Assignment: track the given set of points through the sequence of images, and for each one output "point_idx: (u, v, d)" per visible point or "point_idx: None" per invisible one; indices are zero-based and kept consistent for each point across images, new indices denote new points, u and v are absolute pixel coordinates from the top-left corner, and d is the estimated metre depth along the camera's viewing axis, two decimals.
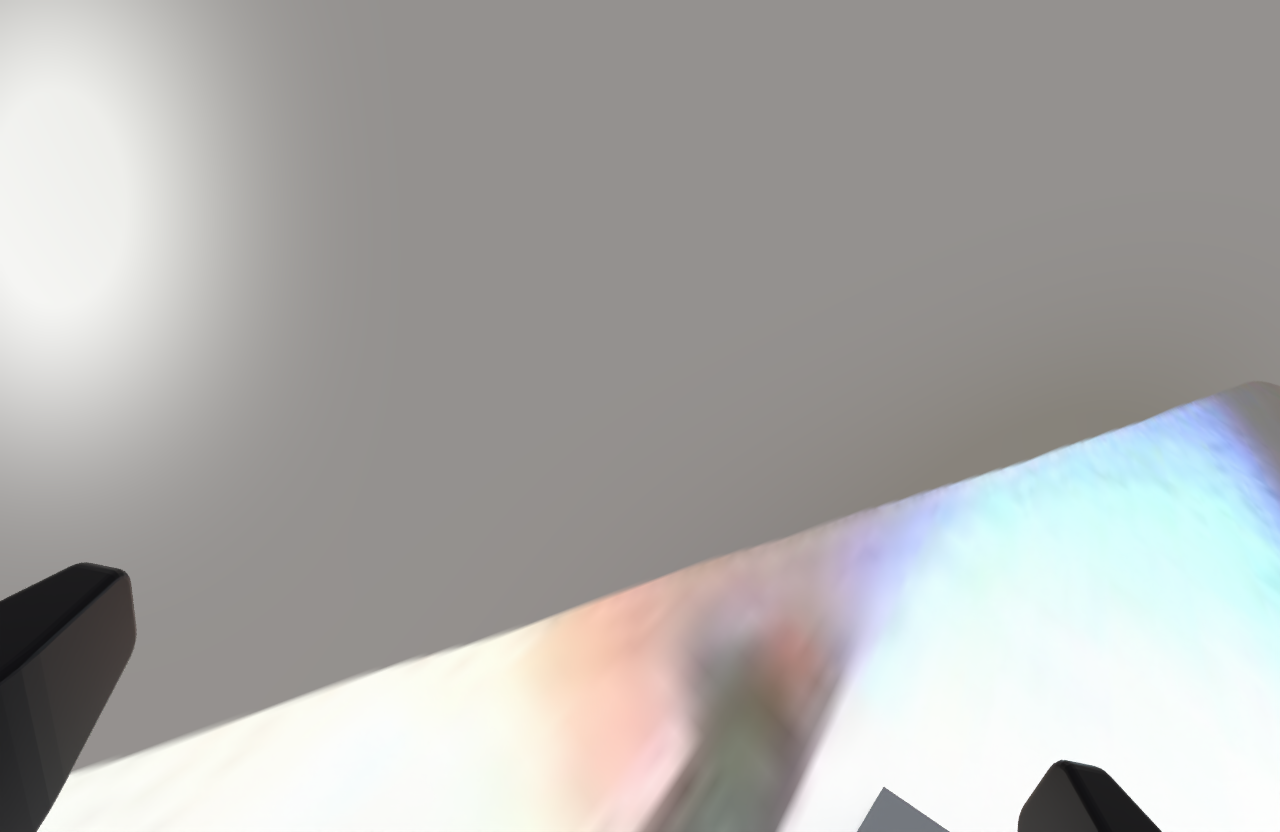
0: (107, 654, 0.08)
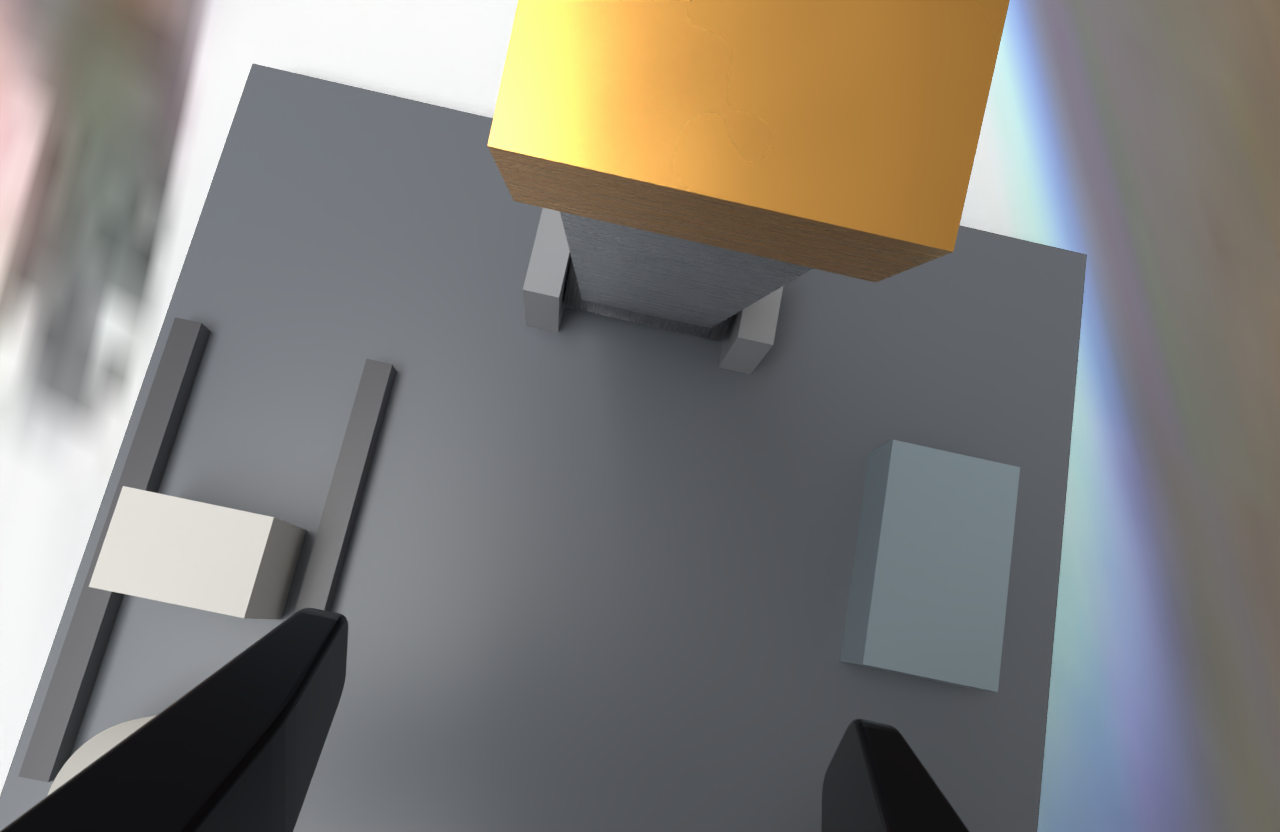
0: (329, 698, 0.08)
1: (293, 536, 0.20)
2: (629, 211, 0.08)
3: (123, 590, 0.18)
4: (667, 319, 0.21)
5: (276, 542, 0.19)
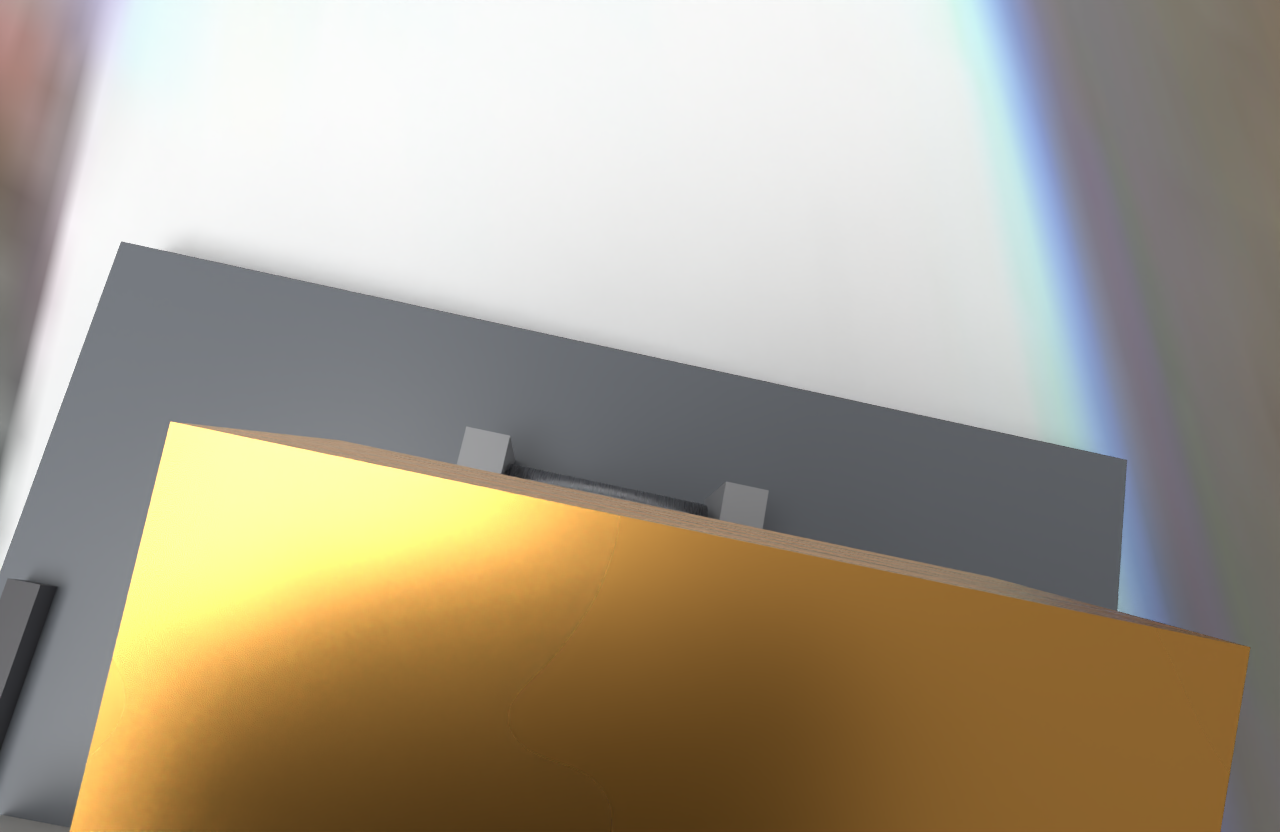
0: None
1: None
2: None
3: None
4: None
5: None
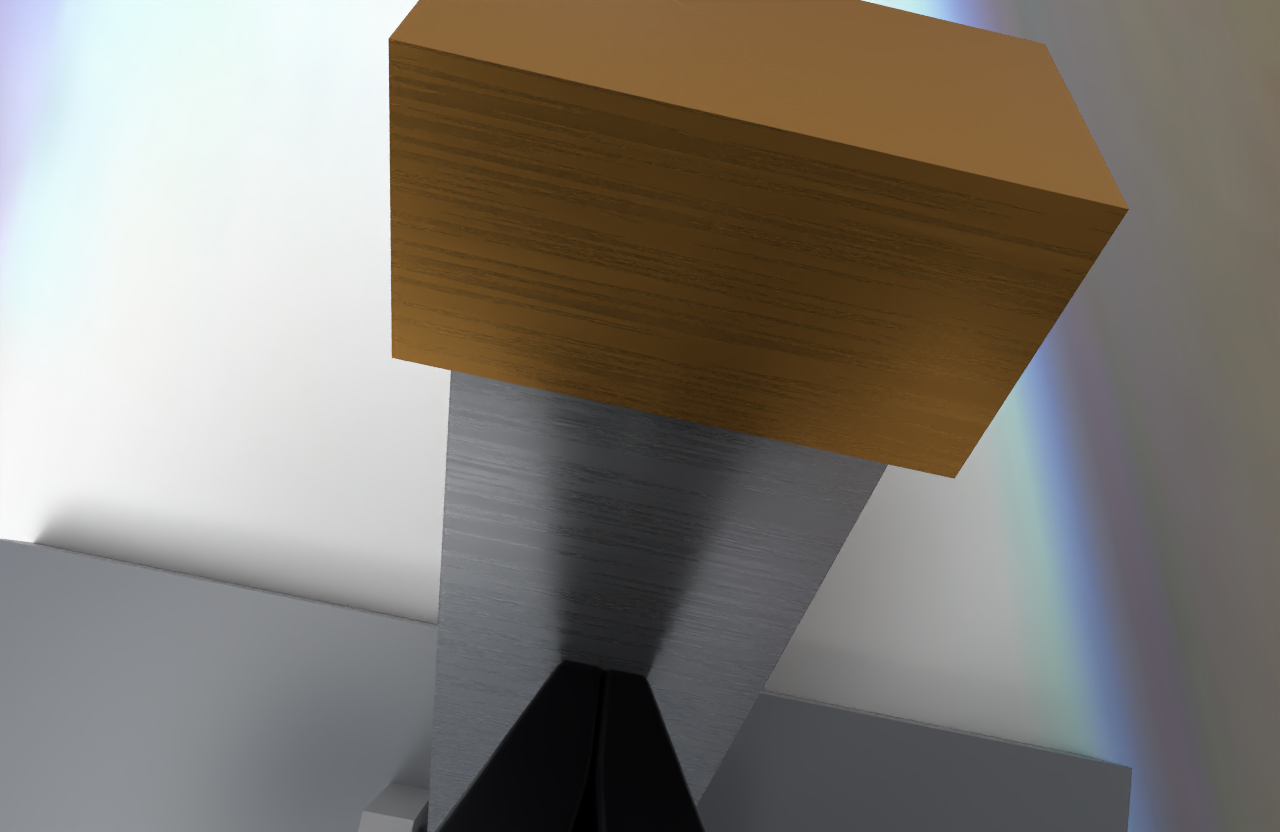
0: None
1: None
2: (586, 301, 0.05)
3: None
4: None
5: None
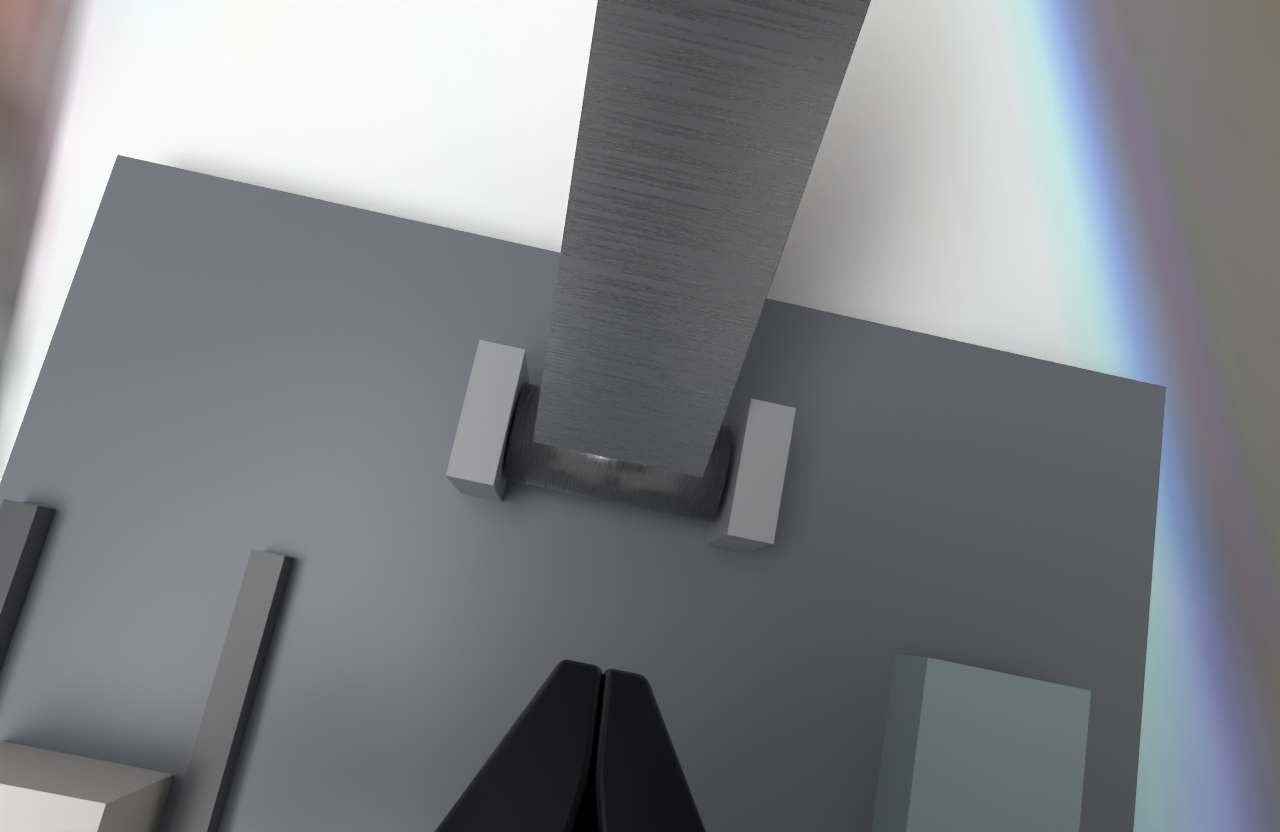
0: None
1: (149, 796, 0.15)
2: None
3: None
4: (646, 466, 0.16)
5: (115, 825, 0.14)
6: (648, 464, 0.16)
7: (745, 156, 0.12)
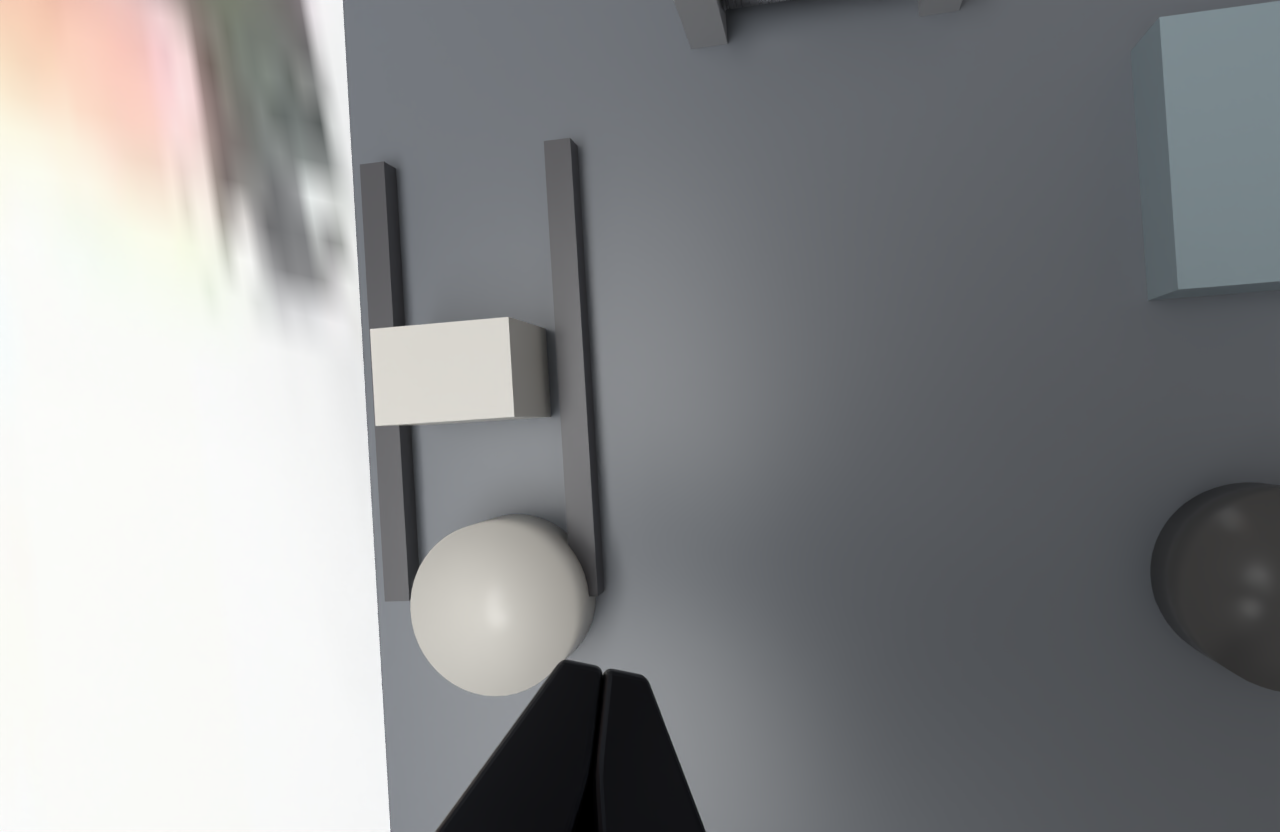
0: None
1: (534, 335, 0.20)
2: None
3: (404, 421, 0.19)
4: None
5: (519, 341, 0.19)
6: None
7: None
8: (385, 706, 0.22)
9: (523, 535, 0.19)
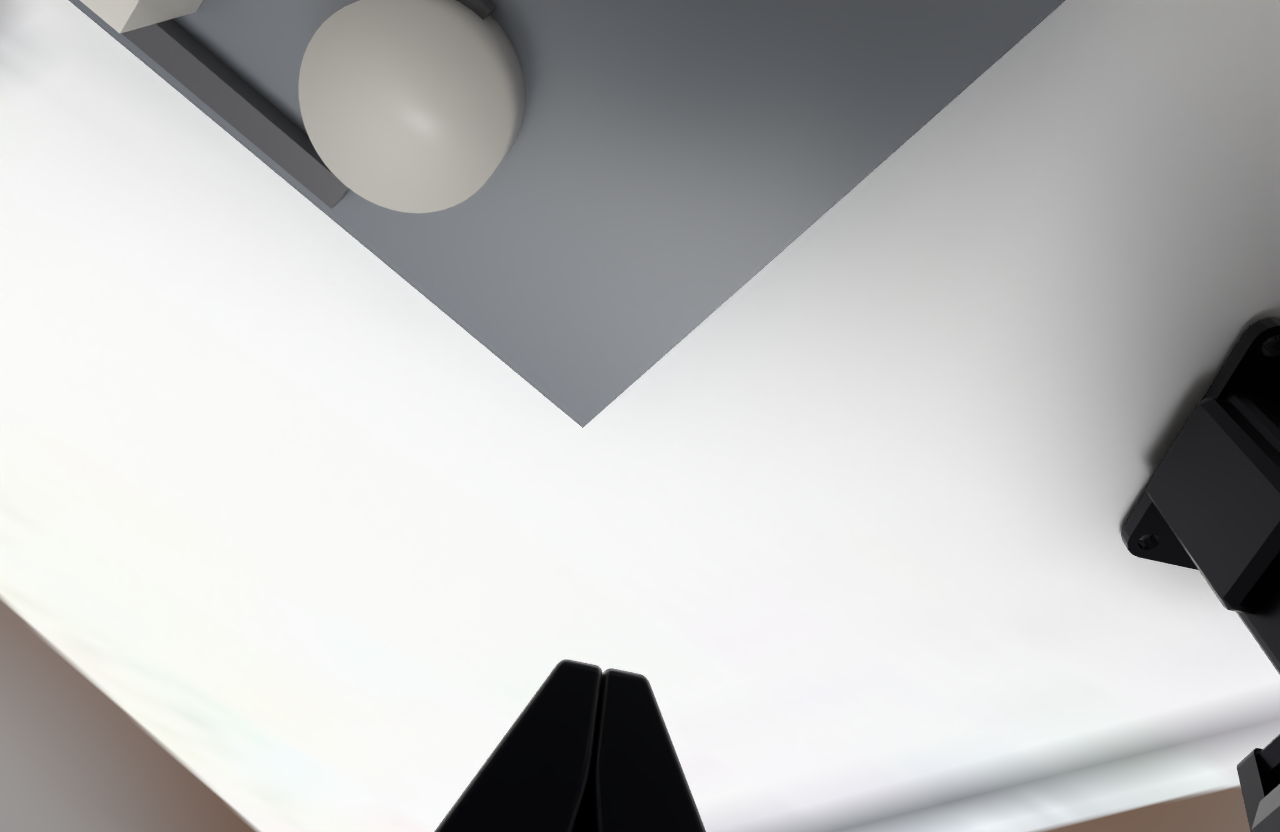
0: None
1: None
2: None
3: None
4: None
5: None
6: None
7: None
8: (430, 298, 0.20)
9: (357, 8, 0.15)
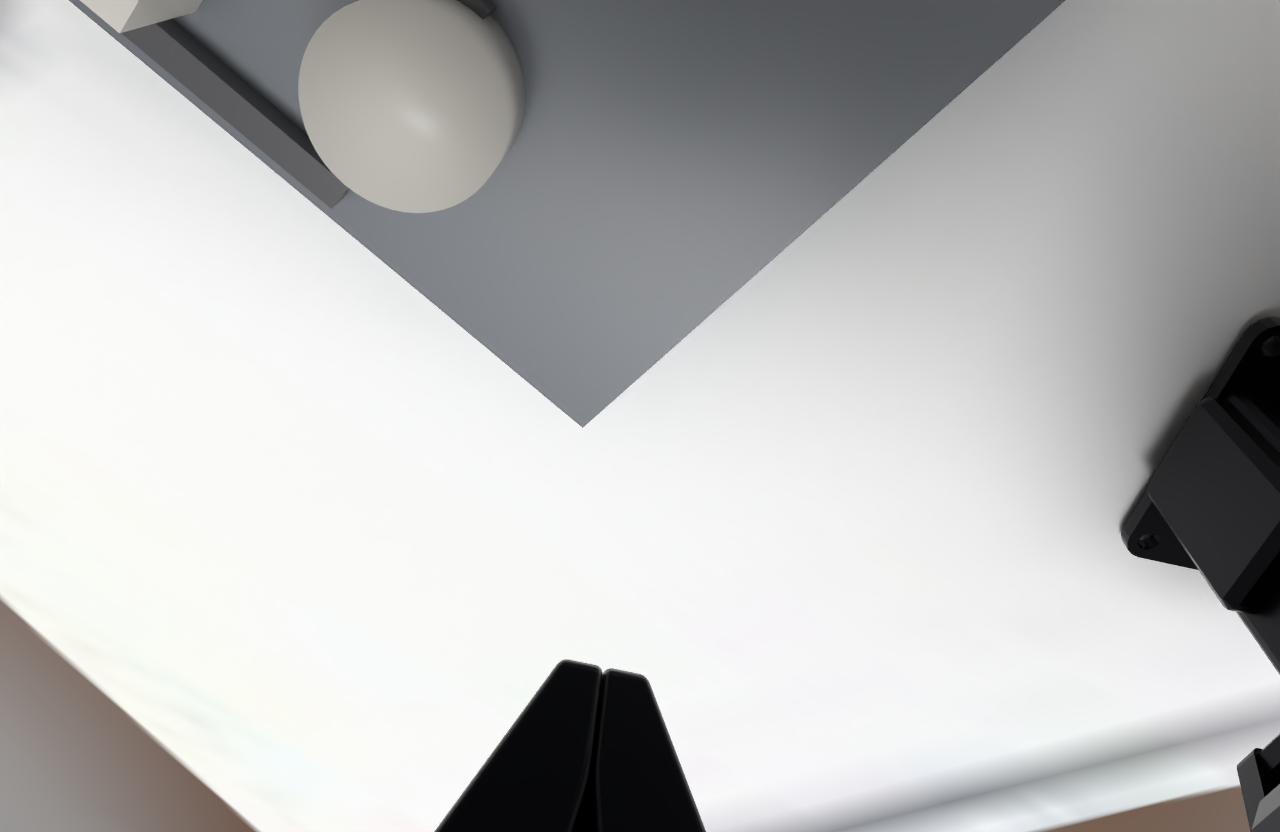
0: None
1: None
2: None
3: None
4: None
5: None
6: None
7: None
8: (429, 298, 0.20)
9: (357, 7, 0.15)
